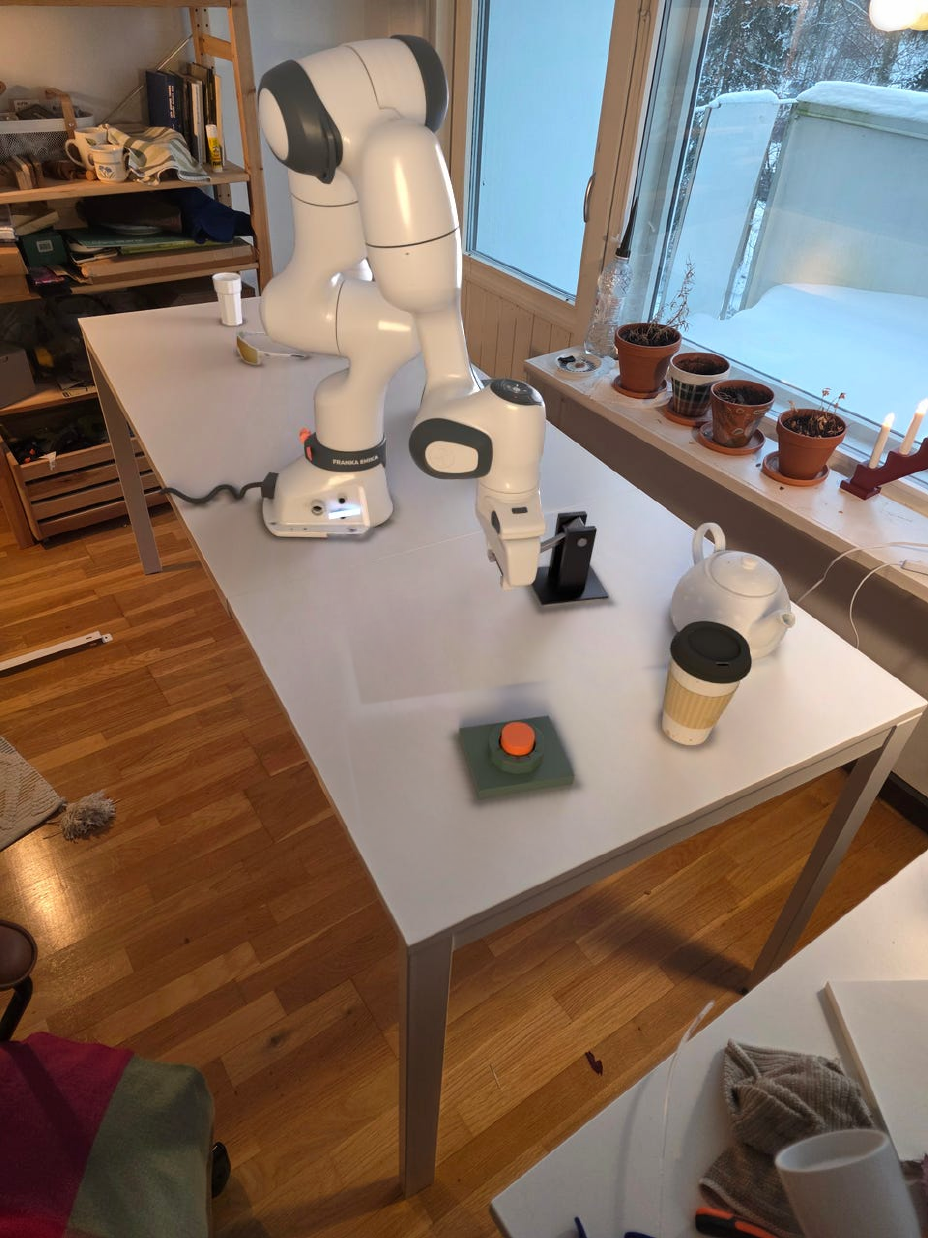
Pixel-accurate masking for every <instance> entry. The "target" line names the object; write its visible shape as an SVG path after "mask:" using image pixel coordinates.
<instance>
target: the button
mask: <svg viewBox="0 0 928 1238" xmlns="http://www.w3.org/2000/svg"><path fill="white" fill-rule="evenodd" d="M534 738H535V734H534V731H533V730H532V728H531V727H529V726H528V725H526V724H524V723H520V722H513V723H510V724H508V725H506V726H505V727H504V728H503V730H502V736H501V746H502V748H503V750H504V751H505V752H507V753H508V754H510V755H513V756H524V755H527V754H528V753H530V752H531V750H532V748H533V744H534Z"/></svg>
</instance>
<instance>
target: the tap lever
mask: <svg viewBox="0 0 928 1238" xmlns="http://www.w3.org/2000/svg"><path fill="white" fill-rule="evenodd" d="M575 527H586V525H585V526H584V524H583V523H582V521H581V520H580V518H577V519H575V520H573V521H571V522H569V523H567V524H565V525H563V529H564V532H562V533H560V534H558V535H556V536H552V537H550V538H548V539H546V540H544V541H541V548H540V554H543V553H545V552H546V551H549V550H550V549H551V550H552V548H553V547H555V546H557V545H559V544H561V543H563V542H565V536H566V530H567V528H575ZM493 557H494V559H495V561H494V562H495V563H496V566H497V569H498V570H499V572H500V574H501V576H503V575H504V574H503V572H502V570H501V568H500V566H499V564H498V561H497V559H496V557H495V555H493Z"/></svg>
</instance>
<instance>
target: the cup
mask: <svg viewBox="0 0 928 1238" xmlns="http://www.w3.org/2000/svg"><path fill="white" fill-rule="evenodd" d="M211 278H212V283H213V289H214V291H215V293H216V296H217V300H218V305H219V312H220V317H221V323H222V325H226V326H228V327H229V326H238V325H241V324H243V315H242V313H243V312H242V299H241V291H242V289H243V288H242V276H241V275H240V274H238V273H236V272H227V271H225V272H219V273H215V274H213V275H212V276H211Z"/></svg>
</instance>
